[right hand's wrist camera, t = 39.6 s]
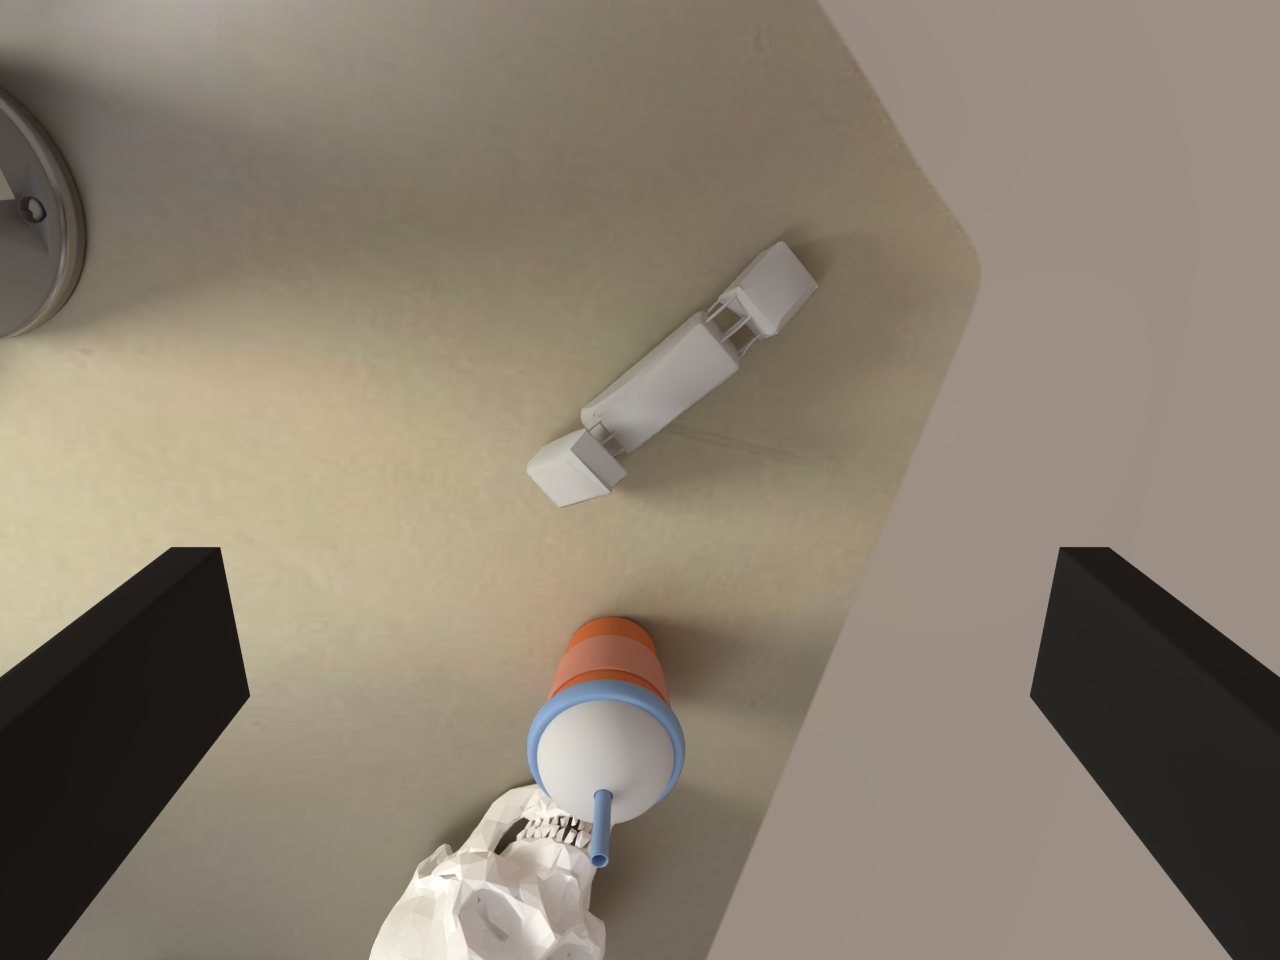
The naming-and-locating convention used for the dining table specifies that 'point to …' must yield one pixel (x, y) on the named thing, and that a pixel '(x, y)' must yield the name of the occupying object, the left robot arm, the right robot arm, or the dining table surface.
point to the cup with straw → (607, 730)
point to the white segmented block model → (670, 379)
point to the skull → (501, 893)
